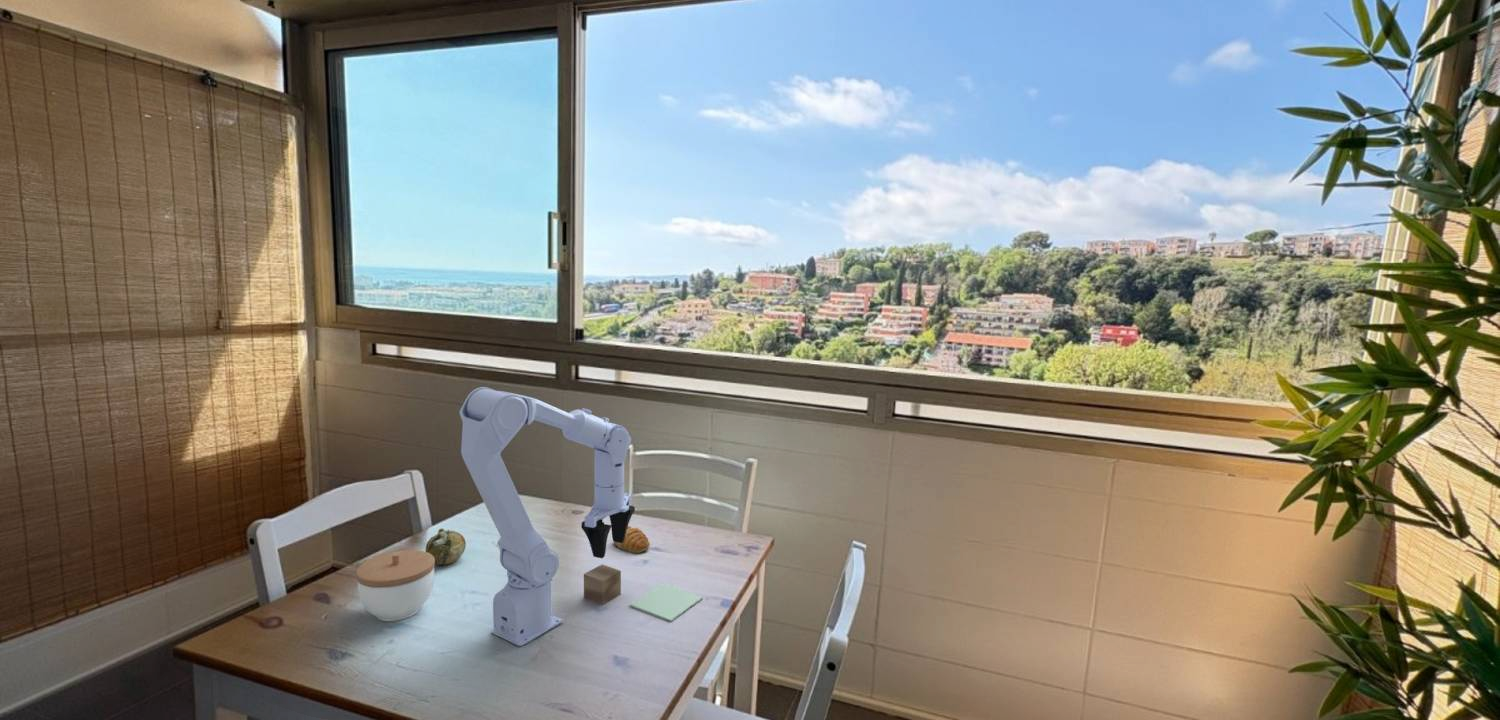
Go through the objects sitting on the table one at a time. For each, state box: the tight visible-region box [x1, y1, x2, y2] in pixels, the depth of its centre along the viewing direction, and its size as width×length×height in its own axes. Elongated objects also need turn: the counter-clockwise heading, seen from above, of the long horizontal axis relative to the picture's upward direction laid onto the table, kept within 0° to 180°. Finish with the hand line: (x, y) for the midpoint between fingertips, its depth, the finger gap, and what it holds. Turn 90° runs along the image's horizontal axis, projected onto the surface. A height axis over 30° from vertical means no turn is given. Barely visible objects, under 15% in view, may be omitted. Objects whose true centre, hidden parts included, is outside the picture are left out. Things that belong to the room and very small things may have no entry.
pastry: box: [613, 525, 651, 554], centre depth 148 cm, size 9×7×4 cm
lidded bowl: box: [355, 549, 436, 622], centre depth 117 cm, size 13×13×11 cm
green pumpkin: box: [425, 528, 467, 566], centre depth 138 cm, size 8×8×8 cm
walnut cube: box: [583, 564, 622, 606], centre depth 125 cm, size 5×5×5 cm
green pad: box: [629, 583, 704, 622], centre depth 124 cm, size 10×10×1 cm
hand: (608, 549), depth 127 cm, fingers open, 7 cm apart
